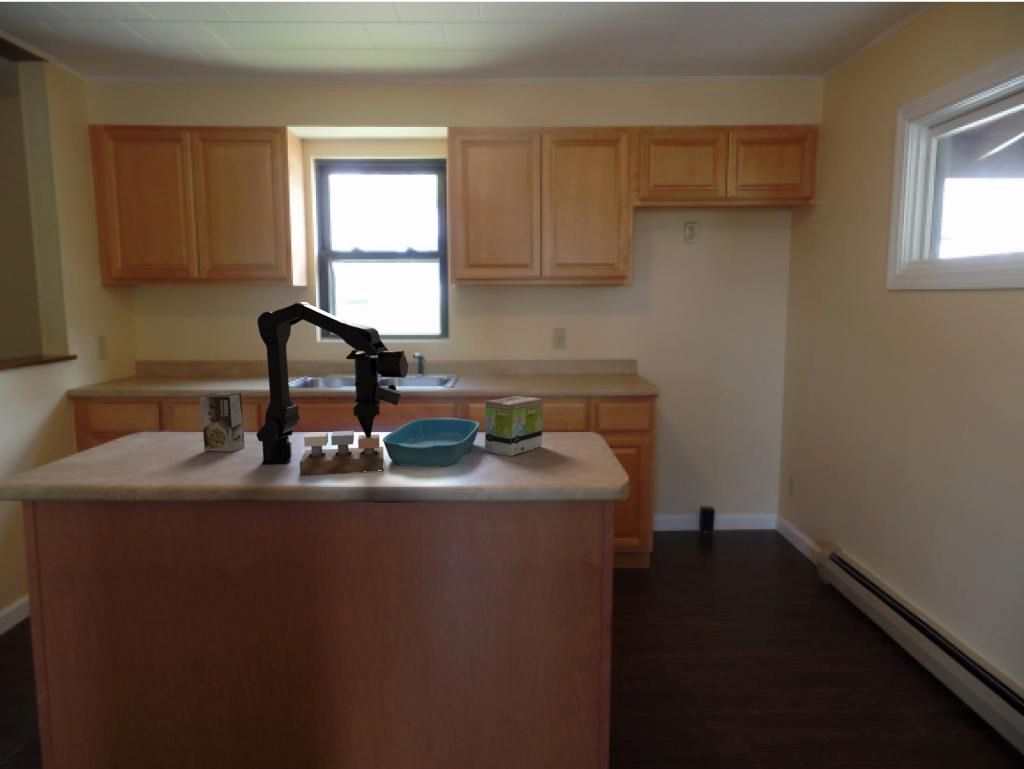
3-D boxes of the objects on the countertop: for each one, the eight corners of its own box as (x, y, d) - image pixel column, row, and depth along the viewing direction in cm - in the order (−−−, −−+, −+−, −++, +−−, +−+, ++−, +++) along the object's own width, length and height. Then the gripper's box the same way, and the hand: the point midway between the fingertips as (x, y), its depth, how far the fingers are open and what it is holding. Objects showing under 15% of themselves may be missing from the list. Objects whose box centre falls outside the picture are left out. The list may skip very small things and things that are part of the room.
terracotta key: (358, 462, 156) (358, 439, 155) (359, 457, 161) (358, 435, 160) (379, 461, 157) (379, 438, 156) (379, 456, 162) (379, 434, 161)
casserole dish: (457, 473, 153) (457, 445, 152) (372, 470, 156) (371, 442, 155) (486, 441, 189) (485, 418, 188) (416, 438, 192) (415, 416, 191)
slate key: (332, 458, 154) (331, 435, 154) (333, 453, 159) (332, 431, 159) (353, 457, 155) (352, 435, 155) (354, 452, 161) (353, 430, 160)
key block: (300, 475, 150) (299, 461, 150) (306, 463, 162) (305, 450, 161) (383, 471, 154) (383, 457, 154) (383, 459, 166) (383, 446, 165)
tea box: (512, 457, 168) (512, 404, 166) (484, 452, 174) (483, 400, 172) (543, 447, 180) (543, 397, 178) (516, 442, 186) (516, 394, 184)
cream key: (305, 460, 153) (304, 437, 152) (307, 455, 158) (306, 432, 157) (326, 459, 154) (325, 436, 153) (328, 454, 159) (327, 432, 158)
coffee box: (245, 447, 180) (242, 392, 178) (233, 452, 173) (230, 396, 171) (216, 446, 181) (212, 392, 179) (203, 451, 174) (199, 395, 172)
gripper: (399, 380, 149) (401, 443, 151) (397, 372, 167) (399, 428, 169) (352, 381, 146) (354, 445, 149) (355, 373, 165) (357, 430, 167)
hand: (368, 436), depth 158 cm, fingers closed, pressing on terracotta key
